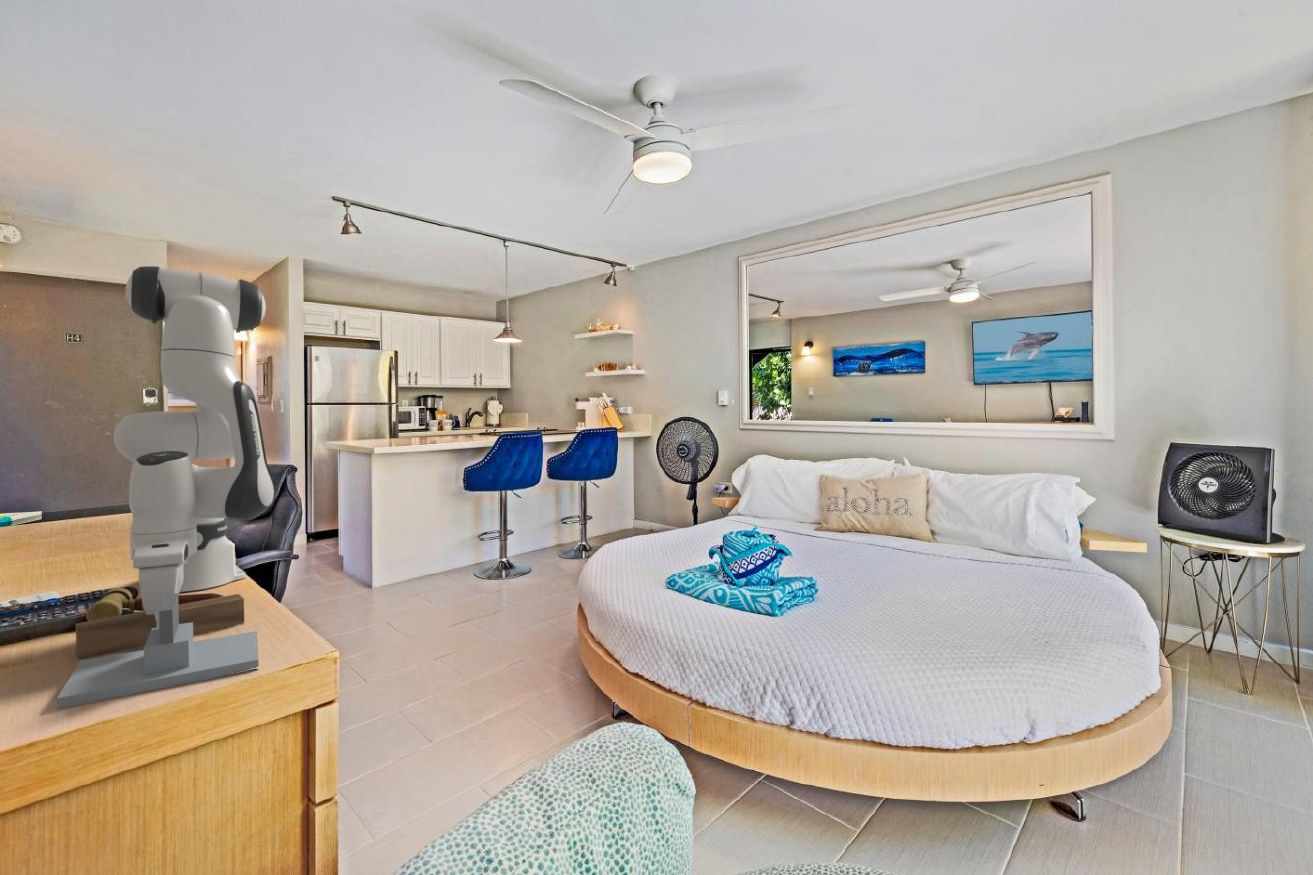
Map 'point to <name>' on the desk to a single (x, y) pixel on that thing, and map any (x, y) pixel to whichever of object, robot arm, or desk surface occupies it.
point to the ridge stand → (160, 662)
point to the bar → (154, 625)
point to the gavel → (131, 603)
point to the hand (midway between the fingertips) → (166, 624)
